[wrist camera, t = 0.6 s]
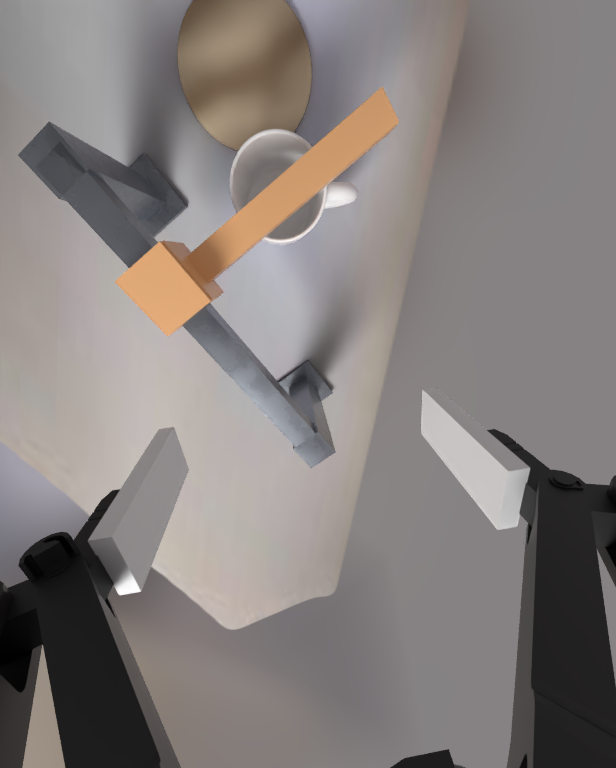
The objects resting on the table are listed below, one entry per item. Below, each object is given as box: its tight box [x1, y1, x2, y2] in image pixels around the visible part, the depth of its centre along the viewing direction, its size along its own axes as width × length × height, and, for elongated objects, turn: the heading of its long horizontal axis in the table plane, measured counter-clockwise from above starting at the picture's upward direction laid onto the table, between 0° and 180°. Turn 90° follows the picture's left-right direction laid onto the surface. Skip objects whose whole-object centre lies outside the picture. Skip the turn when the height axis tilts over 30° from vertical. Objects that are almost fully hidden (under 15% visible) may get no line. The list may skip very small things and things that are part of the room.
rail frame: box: [18, 122, 335, 468], centre depth 32 cm, size 35×6×16 cm, turn 36°
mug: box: [229, 129, 358, 245], centre depth 31 cm, size 12×8×10 cm
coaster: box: [177, 0, 312, 151], centre depth 31 cm, size 13×13×1 cm
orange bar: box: [115, 87, 399, 336], centre depth 23 cm, size 5×23×6 cm, turn 126°
